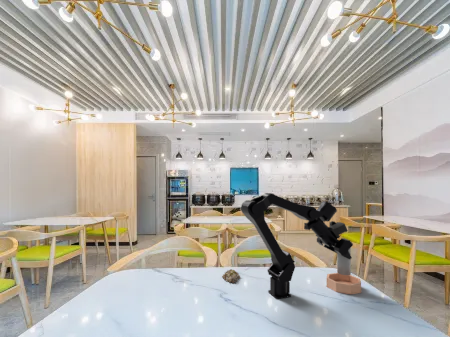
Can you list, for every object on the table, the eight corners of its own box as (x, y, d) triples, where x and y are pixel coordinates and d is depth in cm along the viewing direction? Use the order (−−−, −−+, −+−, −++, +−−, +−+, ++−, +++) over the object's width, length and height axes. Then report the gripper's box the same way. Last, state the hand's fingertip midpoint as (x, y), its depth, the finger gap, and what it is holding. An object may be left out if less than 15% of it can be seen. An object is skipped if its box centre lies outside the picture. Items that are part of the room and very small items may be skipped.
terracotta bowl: (343, 295, 95) (343, 286, 95) (320, 283, 107) (320, 274, 107) (368, 291, 99) (368, 282, 99) (343, 279, 111) (343, 271, 111)
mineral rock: (220, 269, 116) (237, 264, 117) (223, 278, 116) (239, 273, 117) (221, 279, 105) (240, 274, 106) (224, 289, 105) (242, 284, 106)
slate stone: (348, 276, 99) (347, 244, 100) (335, 272, 103) (335, 242, 104) (352, 273, 103) (352, 242, 104) (339, 270, 106) (339, 240, 107)
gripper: (347, 219, 95) (375, 248, 95) (323, 213, 113) (346, 238, 114) (328, 240, 93) (356, 269, 94) (306, 230, 112) (329, 255, 112)
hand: (346, 256), depth 103 cm, fingers closed on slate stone, 5 cm apart
